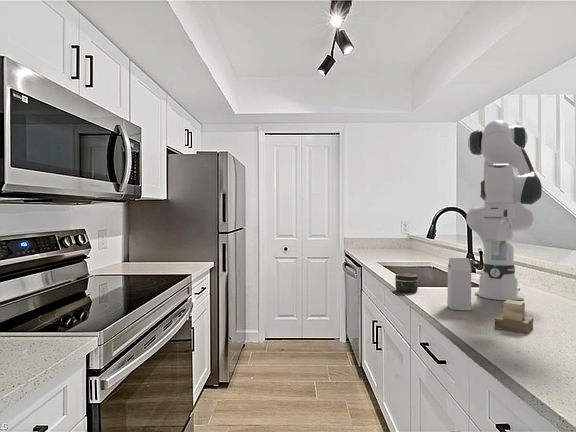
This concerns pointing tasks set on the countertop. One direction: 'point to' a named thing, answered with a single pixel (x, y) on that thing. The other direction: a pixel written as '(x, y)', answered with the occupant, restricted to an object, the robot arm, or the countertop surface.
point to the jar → (406, 283)
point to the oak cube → (514, 310)
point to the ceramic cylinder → (502, 253)
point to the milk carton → (459, 284)
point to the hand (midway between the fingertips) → (499, 254)
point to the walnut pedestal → (514, 324)
